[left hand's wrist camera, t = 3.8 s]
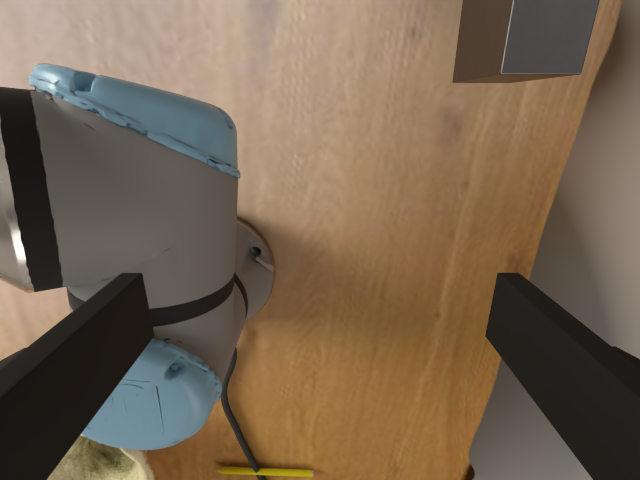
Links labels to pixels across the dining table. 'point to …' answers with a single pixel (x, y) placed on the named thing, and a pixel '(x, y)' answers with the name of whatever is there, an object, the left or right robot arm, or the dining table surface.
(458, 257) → the dining table surface
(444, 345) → the dining table surface
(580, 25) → the bar
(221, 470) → the pencil
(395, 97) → the dining table surface
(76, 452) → the bowl
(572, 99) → the dining table surface
